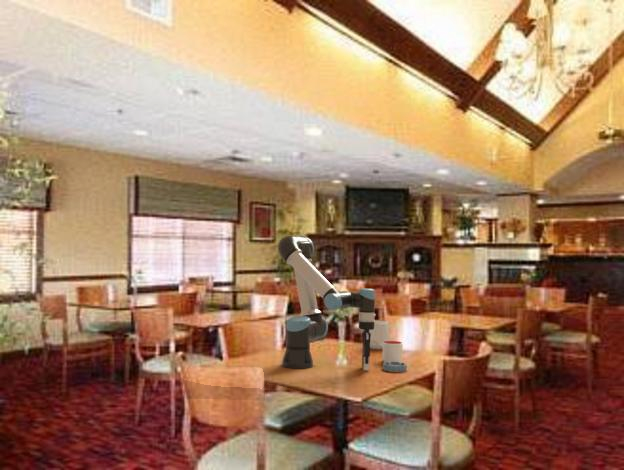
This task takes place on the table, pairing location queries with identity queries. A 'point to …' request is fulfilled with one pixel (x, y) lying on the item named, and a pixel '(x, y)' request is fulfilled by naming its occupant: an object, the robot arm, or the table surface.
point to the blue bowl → (394, 366)
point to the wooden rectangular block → (363, 357)
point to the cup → (392, 351)
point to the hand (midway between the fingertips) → (365, 368)
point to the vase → (379, 334)
